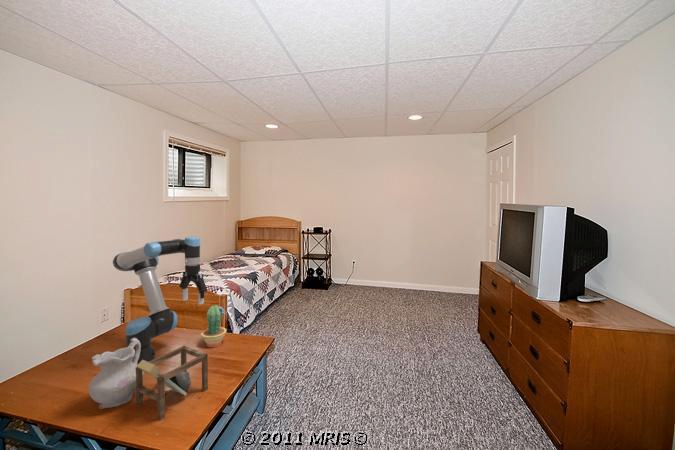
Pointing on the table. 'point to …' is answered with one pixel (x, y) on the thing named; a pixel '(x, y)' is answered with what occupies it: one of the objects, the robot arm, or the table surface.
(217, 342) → the potted cactus
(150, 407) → the table surface
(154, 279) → the robot arm
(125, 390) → the ceramic pitcher
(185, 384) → the rock
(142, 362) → the trapdoor
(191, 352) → the stand
